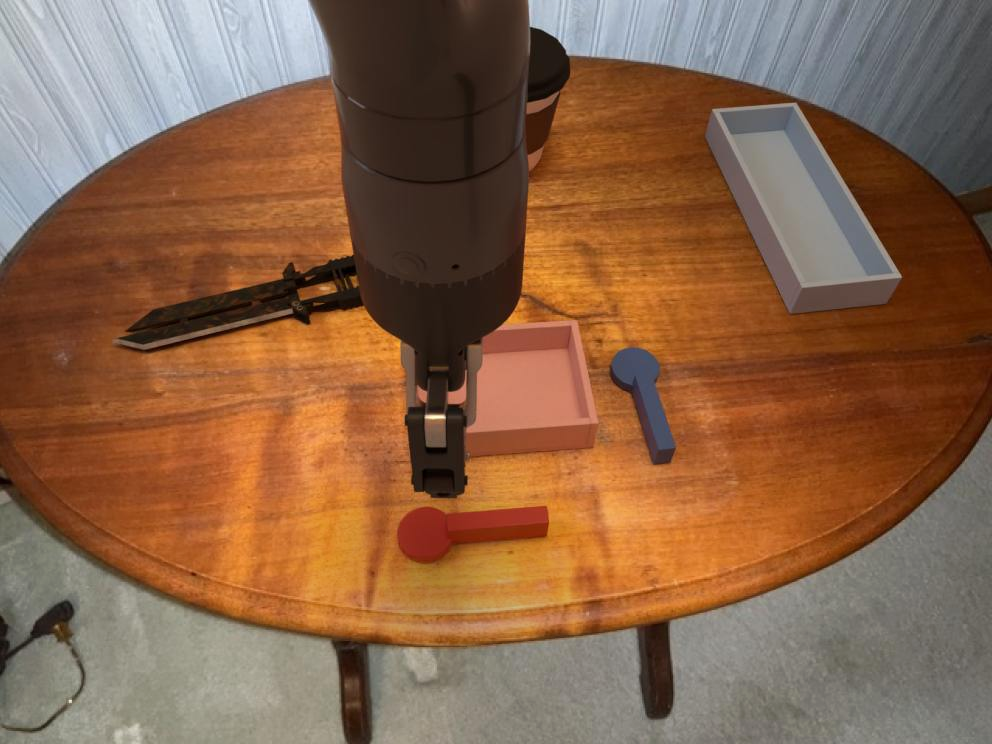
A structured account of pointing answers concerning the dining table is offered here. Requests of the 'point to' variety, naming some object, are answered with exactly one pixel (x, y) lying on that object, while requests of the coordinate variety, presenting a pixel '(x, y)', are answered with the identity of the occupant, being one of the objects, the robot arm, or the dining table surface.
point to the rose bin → (531, 391)
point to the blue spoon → (645, 398)
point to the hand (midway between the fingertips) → (448, 424)
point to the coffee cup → (543, 89)
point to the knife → (250, 313)
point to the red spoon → (465, 529)
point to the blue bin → (799, 210)
